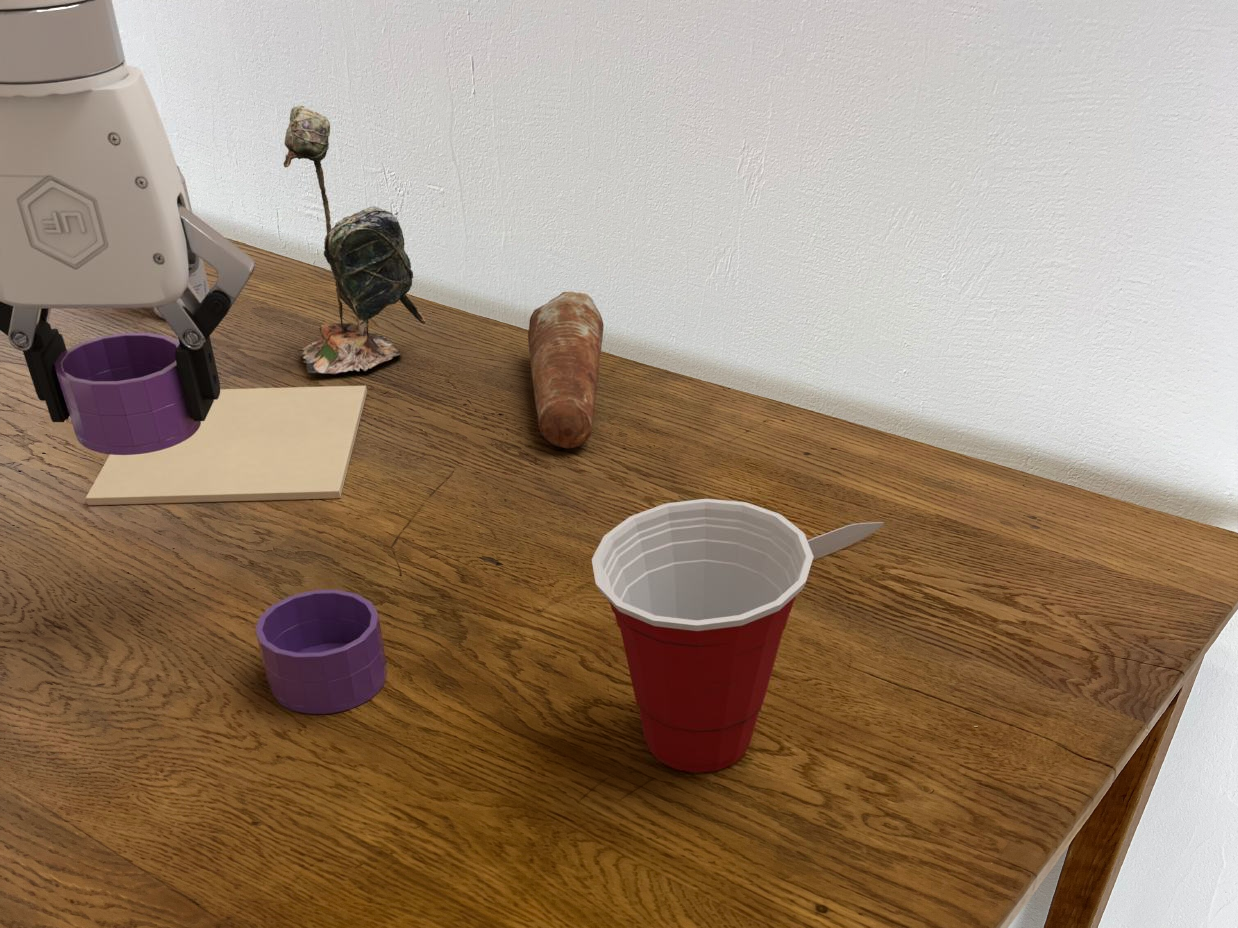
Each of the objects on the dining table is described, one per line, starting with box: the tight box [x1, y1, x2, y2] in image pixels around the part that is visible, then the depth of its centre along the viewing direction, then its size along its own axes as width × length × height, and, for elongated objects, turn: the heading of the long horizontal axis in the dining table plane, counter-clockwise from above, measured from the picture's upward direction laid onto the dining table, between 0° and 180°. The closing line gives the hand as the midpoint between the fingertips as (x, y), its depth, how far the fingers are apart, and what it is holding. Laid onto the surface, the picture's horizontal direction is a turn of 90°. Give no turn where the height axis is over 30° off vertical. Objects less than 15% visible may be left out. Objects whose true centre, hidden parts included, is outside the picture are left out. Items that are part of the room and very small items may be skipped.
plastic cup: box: [591, 498, 814, 774], centre depth 65 cm, size 11×11×12 cm
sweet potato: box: [527, 291, 604, 449], centre depth 99 cm, size 6×19×6 cm, turn 179°
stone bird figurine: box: [283, 105, 426, 375], centre depth 101 cm, size 8×11×20 cm
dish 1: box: [54, 332, 201, 455], centre depth 69 cm, size 7×7×4 cm
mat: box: [85, 385, 368, 506], centre depth 96 cm, size 18×18×1 cm
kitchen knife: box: [807, 521, 886, 562], centre depth 81 cm, size 18×1×2 cm, turn 123°
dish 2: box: [254, 589, 388, 715], centre depth 72 cm, size 7×7×4 cm
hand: (134, 408), depth 70 cm, fingers closed on dish 1, 6 cm apart
